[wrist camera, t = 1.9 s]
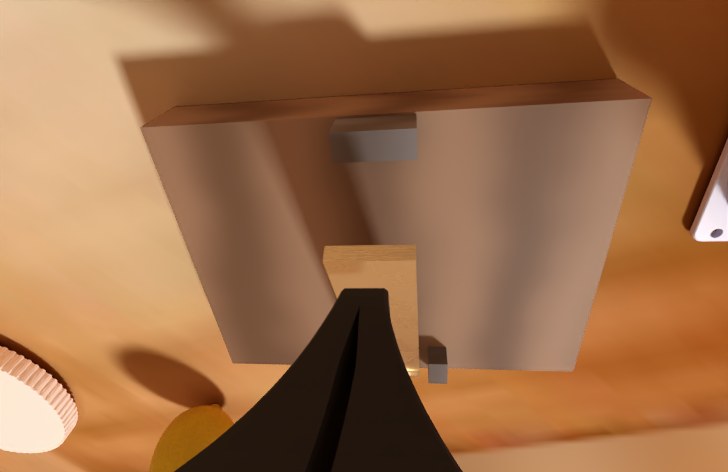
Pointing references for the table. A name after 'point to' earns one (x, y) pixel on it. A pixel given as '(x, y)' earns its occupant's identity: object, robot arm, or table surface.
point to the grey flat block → (407, 211)
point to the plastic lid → (32, 406)
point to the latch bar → (382, 286)
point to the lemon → (189, 436)
